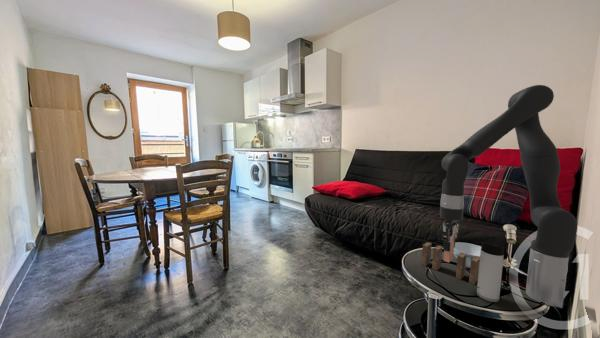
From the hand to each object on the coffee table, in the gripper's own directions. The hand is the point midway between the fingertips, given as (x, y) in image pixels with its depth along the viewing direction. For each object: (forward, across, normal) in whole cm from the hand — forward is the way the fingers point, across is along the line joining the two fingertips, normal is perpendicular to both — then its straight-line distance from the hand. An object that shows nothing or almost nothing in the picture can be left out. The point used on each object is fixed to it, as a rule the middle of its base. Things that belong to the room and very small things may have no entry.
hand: (449, 248), depth 91 cm
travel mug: (+14, +1, -12) cm, 19 cm away
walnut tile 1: (+14, +9, +11) cm, 20 cm away
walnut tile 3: (+14, +9, -2) cm, 17 cm away
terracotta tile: (+4, 0, 0) cm, 4 cm away
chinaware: (+14, +24, -2) cm, 28 cm away
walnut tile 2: (+14, +9, +7) cm, 18 cm away
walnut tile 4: (+14, +9, -7) cm, 18 cm away
